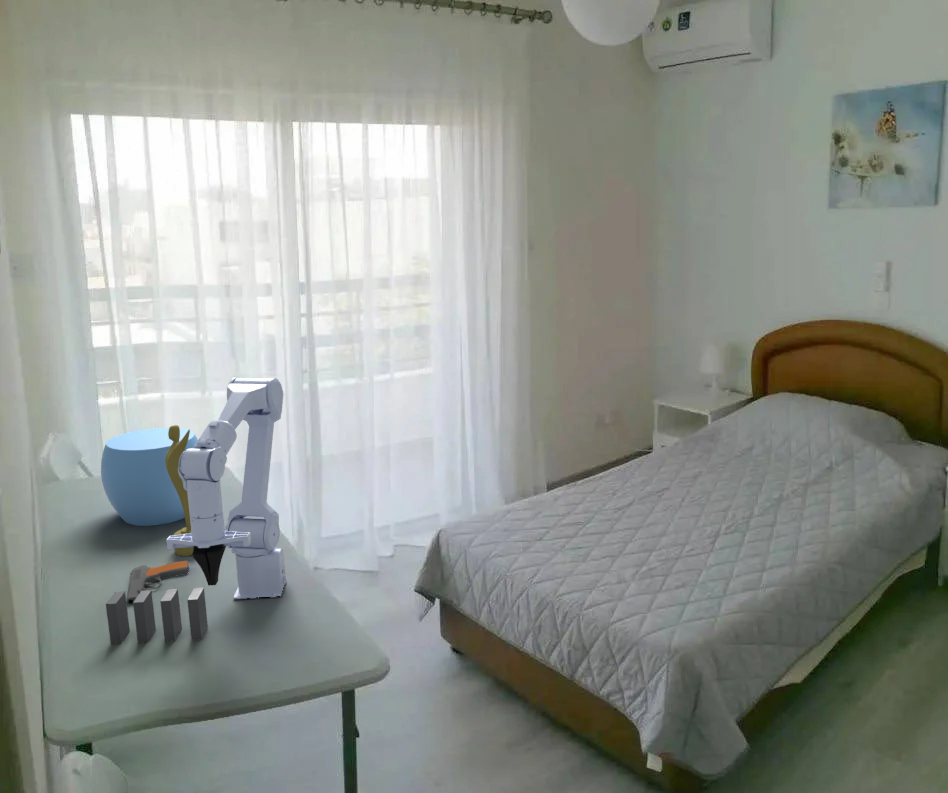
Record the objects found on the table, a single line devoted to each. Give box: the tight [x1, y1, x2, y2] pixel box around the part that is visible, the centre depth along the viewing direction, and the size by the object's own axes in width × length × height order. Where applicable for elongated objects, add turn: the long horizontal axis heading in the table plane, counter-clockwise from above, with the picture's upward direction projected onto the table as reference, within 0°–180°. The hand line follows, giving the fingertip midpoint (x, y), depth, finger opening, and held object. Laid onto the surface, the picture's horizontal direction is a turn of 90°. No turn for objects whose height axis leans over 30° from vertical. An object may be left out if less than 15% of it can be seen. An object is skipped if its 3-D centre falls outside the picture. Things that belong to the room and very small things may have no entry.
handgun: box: [126, 560, 190, 605], centre depth 176 cm, size 2×16×12 cm
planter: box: [100, 427, 199, 527], centre depth 215 cm, size 25×25×20 cm
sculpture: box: [165, 424, 193, 557], centre depth 190 cm, size 11×7×30 cm, turn 42°
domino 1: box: [132, 590, 157, 644], centre depth 153 cm, size 2×5×8 cm, turn 4°
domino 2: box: [159, 588, 183, 643], centre depth 153 cm, size 2×5×8 cm, turn 4°
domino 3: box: [187, 587, 209, 641], centre depth 154 cm, size 2×5×8 cm, turn 4°
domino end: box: [105, 591, 131, 645], centre depth 153 cm, size 2×5×8 cm, turn 4°
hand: (213, 583), depth 153 cm, fingers closed
